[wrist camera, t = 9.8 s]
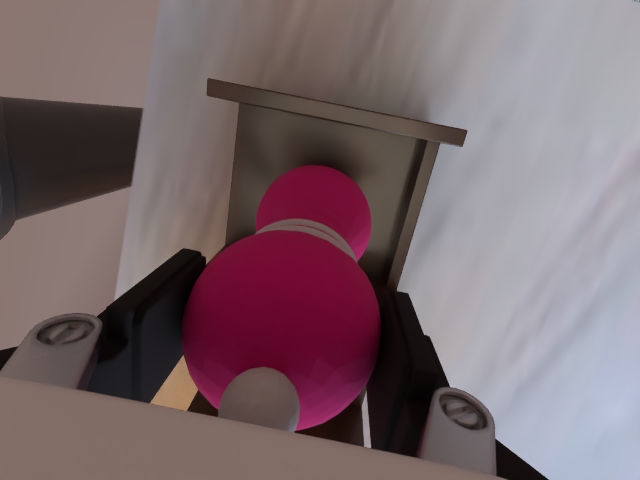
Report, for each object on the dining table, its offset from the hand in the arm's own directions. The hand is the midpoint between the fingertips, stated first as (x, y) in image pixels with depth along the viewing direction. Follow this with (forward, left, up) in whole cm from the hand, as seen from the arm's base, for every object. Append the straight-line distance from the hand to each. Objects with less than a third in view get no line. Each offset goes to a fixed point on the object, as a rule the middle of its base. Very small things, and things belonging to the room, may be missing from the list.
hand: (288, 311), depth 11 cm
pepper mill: (0, 0, -15) cm, 15 cm away
